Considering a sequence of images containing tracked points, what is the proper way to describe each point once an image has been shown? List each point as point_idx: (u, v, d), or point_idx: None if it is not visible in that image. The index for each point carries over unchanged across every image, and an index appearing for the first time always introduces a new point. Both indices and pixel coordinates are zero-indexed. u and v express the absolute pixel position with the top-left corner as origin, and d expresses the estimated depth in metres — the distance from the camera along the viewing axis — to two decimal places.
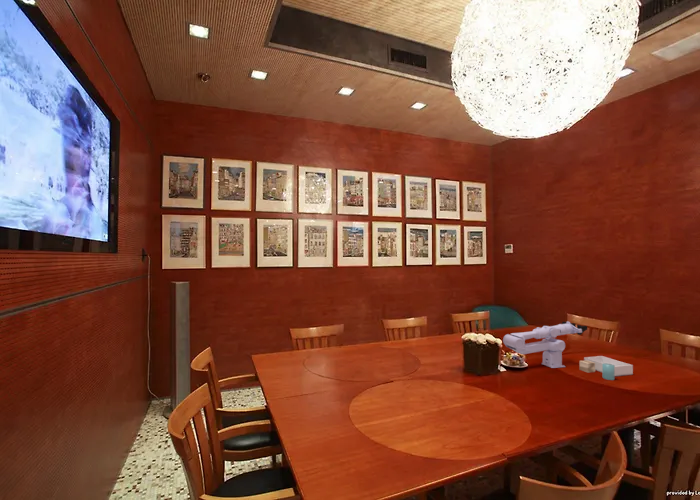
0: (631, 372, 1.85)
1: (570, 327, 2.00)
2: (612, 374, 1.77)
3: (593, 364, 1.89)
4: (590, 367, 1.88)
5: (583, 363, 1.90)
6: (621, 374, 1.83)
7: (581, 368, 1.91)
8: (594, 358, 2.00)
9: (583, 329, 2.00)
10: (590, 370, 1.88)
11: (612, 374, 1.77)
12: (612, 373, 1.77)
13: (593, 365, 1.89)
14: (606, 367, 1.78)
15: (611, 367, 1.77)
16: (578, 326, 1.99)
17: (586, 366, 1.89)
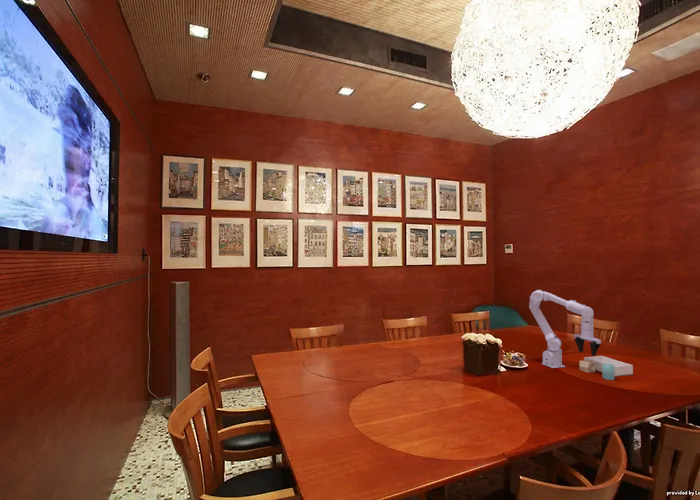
0: (631, 372, 1.85)
1: (593, 336, 1.89)
2: (612, 374, 1.77)
3: (593, 364, 1.89)
4: (590, 367, 1.88)
5: (583, 363, 1.90)
6: (621, 374, 1.83)
7: (581, 368, 1.91)
8: (594, 358, 2.00)
9: (593, 350, 1.87)
10: (590, 370, 1.88)
11: (612, 374, 1.77)
12: (612, 373, 1.77)
13: (593, 365, 1.89)
14: (606, 367, 1.78)
15: (611, 367, 1.77)
16: None
17: (586, 366, 1.89)
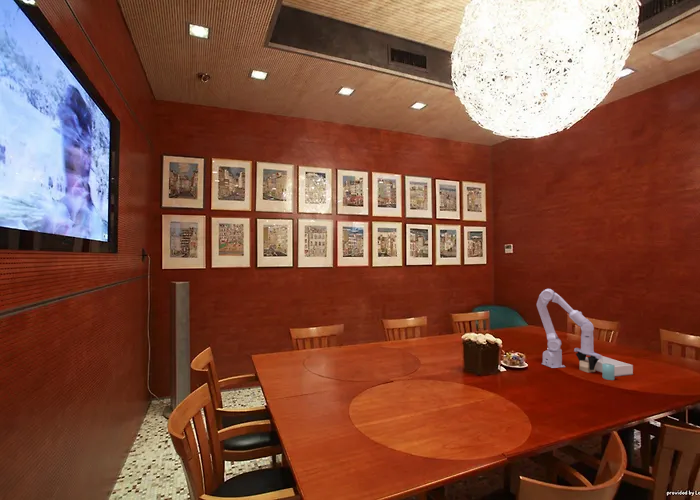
0: (631, 372, 1.85)
1: (593, 350, 1.89)
2: (612, 374, 1.77)
3: None
4: None
5: (583, 363, 1.90)
6: (621, 374, 1.83)
7: (581, 368, 1.91)
8: None
9: (592, 364, 1.88)
10: (590, 370, 1.88)
11: (612, 374, 1.77)
12: (612, 373, 1.77)
13: None
14: (606, 367, 1.78)
15: (611, 367, 1.77)
16: None
17: (586, 366, 1.89)
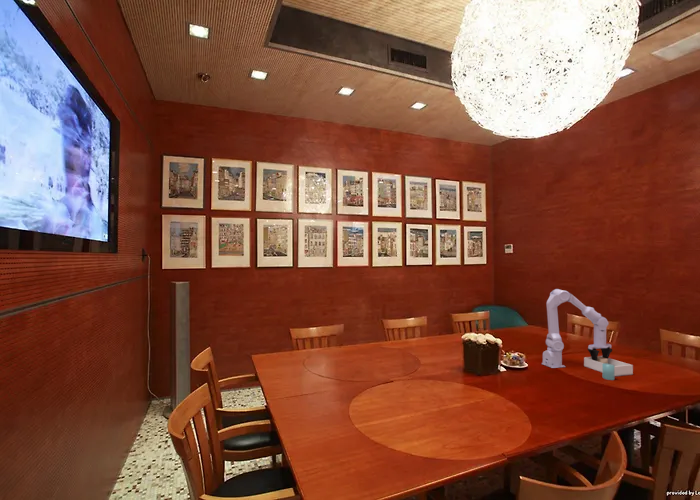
0: (631, 372, 1.85)
1: (598, 344, 1.95)
2: (612, 374, 1.77)
3: (598, 360, 1.94)
4: None
5: None
6: (621, 374, 1.83)
7: None
8: None
9: (593, 356, 1.96)
10: None
11: (612, 374, 1.77)
12: (612, 373, 1.77)
13: (598, 361, 1.94)
14: (606, 367, 1.78)
15: (611, 367, 1.77)
16: (596, 350, 1.93)
17: None
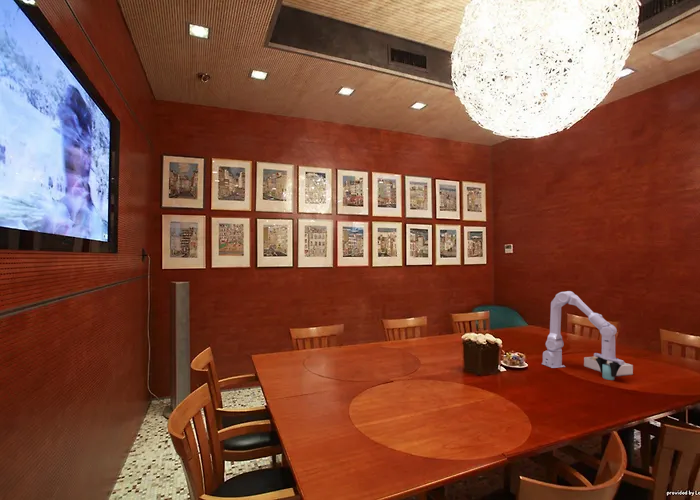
0: (631, 372, 1.85)
1: None
2: None
3: None
4: None
5: None
6: (621, 374, 1.83)
7: None
8: None
9: (614, 371, 1.76)
10: None
11: None
12: None
13: None
14: (606, 367, 1.78)
15: None
16: None
17: None
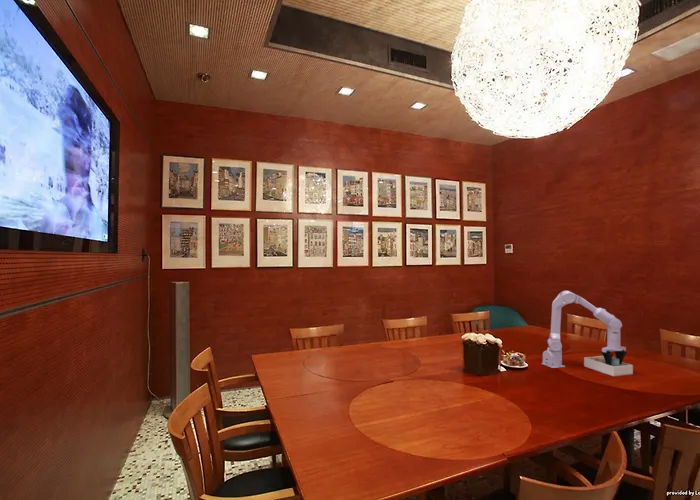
0: (631, 372, 1.85)
1: (612, 346, 1.87)
2: None
3: (598, 360, 1.94)
4: None
5: None
6: (621, 374, 1.83)
7: None
8: None
9: (606, 359, 1.88)
10: None
11: None
12: None
13: (598, 361, 1.94)
14: None
15: None
16: (610, 353, 1.86)
17: None
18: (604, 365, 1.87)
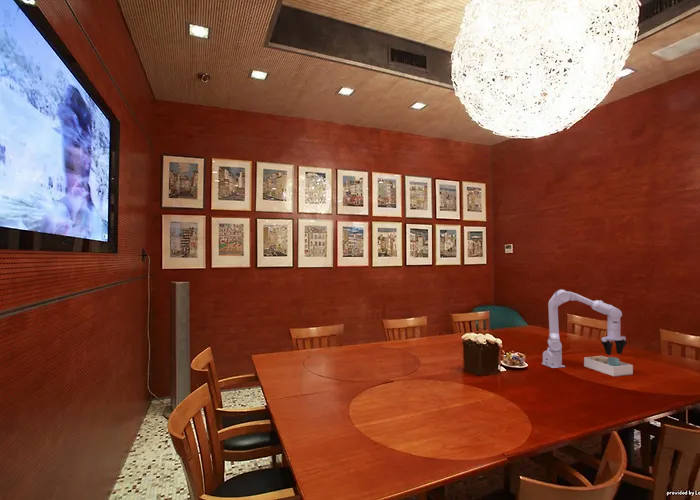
0: (631, 372, 1.85)
1: (612, 336, 1.87)
2: None
3: (598, 360, 1.94)
4: None
5: None
6: (621, 374, 1.83)
7: None
8: None
9: (606, 348, 1.88)
10: None
11: (610, 365, 1.88)
12: (610, 365, 1.88)
13: (598, 361, 1.94)
14: None
15: (609, 359, 1.89)
16: (610, 342, 1.86)
17: None
18: (604, 365, 1.87)
